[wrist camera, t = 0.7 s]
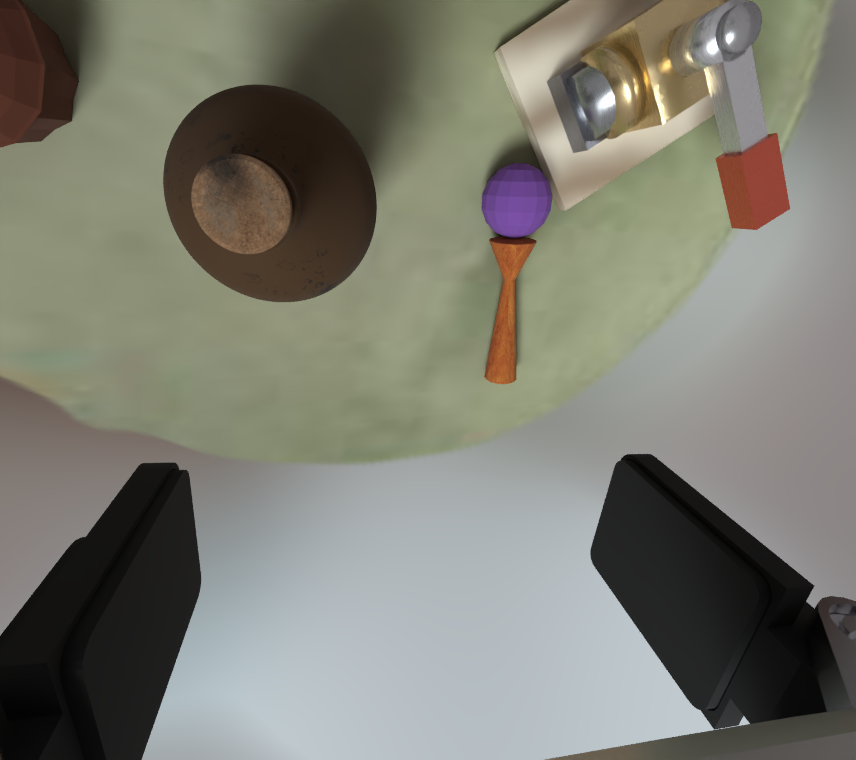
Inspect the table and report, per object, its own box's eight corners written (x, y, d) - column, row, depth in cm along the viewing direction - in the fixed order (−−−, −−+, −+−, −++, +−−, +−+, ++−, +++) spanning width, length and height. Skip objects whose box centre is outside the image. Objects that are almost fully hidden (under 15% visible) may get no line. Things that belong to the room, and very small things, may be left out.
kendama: (474, 390, 43) (488, 163, 34) (469, 364, 49) (480, 162, 39) (535, 390, 43) (565, 164, 34) (523, 364, 49) (546, 163, 39)
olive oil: (384, 180, 38) (455, 154, 15) (326, 286, 40) (314, 399, 18) (266, 99, 34) (130, -93, 12) (210, 222, 37) (7, 261, 14)
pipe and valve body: (544, 75, 36) (589, 49, 30) (682, -16, 35) (758, -63, 29) (575, 158, 39) (621, 151, 33) (703, 75, 38) (776, 50, 32)
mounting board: (493, 52, 36) (499, 47, 35) (685, -75, 35) (699, -87, 34) (558, 210, 42) (565, 210, 40) (723, 103, 41) (736, 100, 40)
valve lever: (663, 36, 30) (714, 12, 26) (705, 9, 30) (762, -20, 26) (712, 228, 36) (759, 231, 32) (747, 206, 36) (798, 207, 32)
